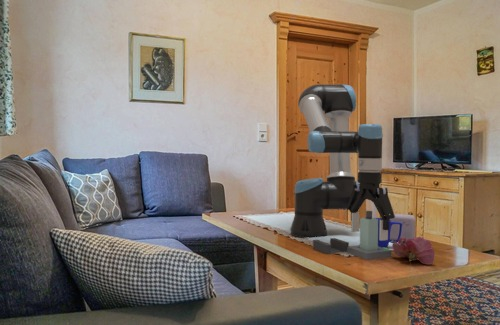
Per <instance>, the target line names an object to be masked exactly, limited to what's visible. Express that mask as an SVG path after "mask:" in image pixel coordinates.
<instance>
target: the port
mask: <svg viewBox="0 0 500 325" xmlns="http://www.w3.org/2000/svg"><path fill="white" fill-rule="evenodd" d="M346 253H347V254H350V255H352V256H354V257H357V258H360V259H363V260H366V261H369V260H371V261H372V260H377V259H385V258H391V257H393V256H392V254H393V249H389V248H388V247H387V248H384V247H379V246H378V250H373V251H366V250H363V249H360V244H359V245H349V246H348V247H347V252H346Z"/></svg>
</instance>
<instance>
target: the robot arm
mask: <svg viewBox="0 0 500 325" xmlns="http://www.w3.org/2000/svg"><path fill="white" fill-rule="evenodd" d="M356 96H357V94H356V92H355V89H354V88H353V87H352V86H351V85H349V84H342V83H341V84H319V83H318V84H313V85H311V86H308V87H306V89H304V90H303V91H302V92H301V94H299V97H298V102H297V103H298V108H299V110H300V113H301V114H303V116H304V118H305V121H306V124H307V127H308V130H309V132H308V134H307V138H306V139H307V150H308V151H309V152H310V153H317V154H326V153H327V154H329V175H327V176H326V181H324V179H323V178H321V177H316V178H307V179H301V180H299V181H296V183H295V185H294V192H293V193H294V216H293V220H292V223H291V226H290V229H289V230H290V236H293V237H298V238H304V237H309V238H321V237H323V238H324V237H326V236H327V235H328V229H327V226H326V223H325V219H324V214H323V212H324V210H347V211H349V212H350V221H351V222H350V223H351V227H350V228H351V230H350V232H352V233H358V232H359V233H360V212H359V209H360V208H361V207H362V206H363V204H364V202H365V201H366V200H368V201H371V202H372V203H373V204H374V207H375V208H376V210H377V212H378V214H379V216H380V218H381V219H380V231H379V240H381V241H382V240H388V230H389V220H390V219H392V218H395V215H394V214H395V212H394V209H393V206H392V204H391V200H390V197H389V195H388V194H389V193H388V188H387V187H381V186H380V184H382V177H383V176H382V172H381V171H382V170H383V137H384V134H383V126H382V125H381V124H378V123H364V124H363V123H362V124H359V126H358V131H350V125H349V118H350V117H351V116H352V115H353V112H355V110H356V108H357V97H356ZM351 154H357V158H358V159H357V170H358V172H357V180H356V177H355V175H353V174H352V167H351ZM309 238H308V239H309Z"/></svg>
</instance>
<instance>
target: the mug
mask: <svg viewBox="0 0 500 325" xmlns="http://www.w3.org/2000/svg"><path fill="white" fill-rule="evenodd" d="M374 218H375V219H378V246H379V247H382V248H387V249H388V246H389V244H390V243H391V244H393V242H394V240H390V231H391V226H392V225H393V224H399V225H400V230H399V236H398V239H397V240H396V242H397V243H398V240H399V239H400V237H401V231H402V223H400V222H391V220H389V230H388V240H382V241H381V240H379V231H380V219H381V217H374Z"/></svg>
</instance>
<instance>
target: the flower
mask: <svg viewBox="0 0 500 325" xmlns="http://www.w3.org/2000/svg"><path fill="white" fill-rule="evenodd" d="M393 241H394V240H393ZM432 247H433V246H432V242H431V241H430V240H428V239H427V238H424V237H423V236H417V237H415V238H412V239H406V238H404V237H401V238H400V239H399V240H398V242H396V241H394V242H393V243H392V251H393V252H394V254H395V255H396V256H397V257H399V258H400V257H401V258H402V257H403V259H405V258H406V259H408V260H409V262H411V261H416V260H418V261H419V262H420V263H422V264H424V265H431V264H433V263H434V261H435V249H434V248H432ZM409 264H410V265H409V266H410V267H412V264H411V263H409Z"/></svg>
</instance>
